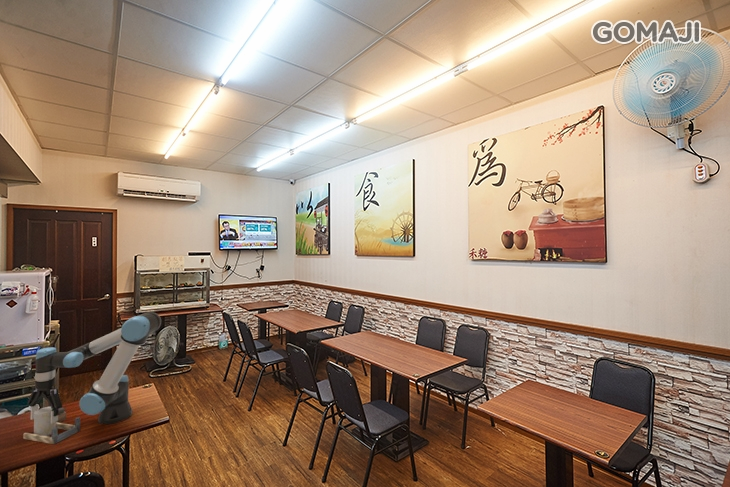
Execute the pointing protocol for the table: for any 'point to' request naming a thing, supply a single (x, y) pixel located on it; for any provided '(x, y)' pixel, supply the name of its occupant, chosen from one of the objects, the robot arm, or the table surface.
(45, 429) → the cup
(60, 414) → the grey-brown rounded block
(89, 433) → the table surface
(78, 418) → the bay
